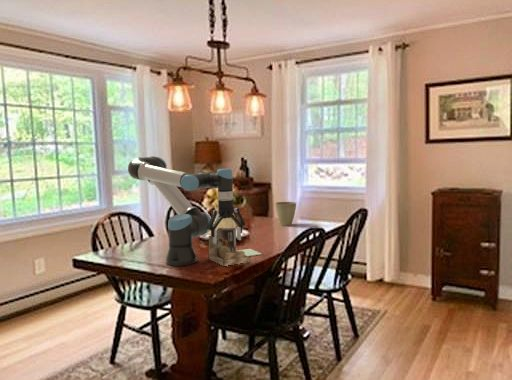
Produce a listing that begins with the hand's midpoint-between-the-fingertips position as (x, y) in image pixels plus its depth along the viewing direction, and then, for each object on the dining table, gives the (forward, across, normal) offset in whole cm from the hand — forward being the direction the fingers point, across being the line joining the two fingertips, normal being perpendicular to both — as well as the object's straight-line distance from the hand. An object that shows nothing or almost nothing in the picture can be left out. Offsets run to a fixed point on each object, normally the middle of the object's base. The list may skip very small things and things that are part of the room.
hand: (227, 241), depth 222 cm
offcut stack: (+10, 0, -7) cm, 12 cm away
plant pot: (+10, +77, +62) cm, 99 cm away
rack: (+10, 0, -2) cm, 10 cm away
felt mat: (+10, +14, +6) cm, 18 cm away
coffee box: (+10, 0, 0) cm, 10 cm away
